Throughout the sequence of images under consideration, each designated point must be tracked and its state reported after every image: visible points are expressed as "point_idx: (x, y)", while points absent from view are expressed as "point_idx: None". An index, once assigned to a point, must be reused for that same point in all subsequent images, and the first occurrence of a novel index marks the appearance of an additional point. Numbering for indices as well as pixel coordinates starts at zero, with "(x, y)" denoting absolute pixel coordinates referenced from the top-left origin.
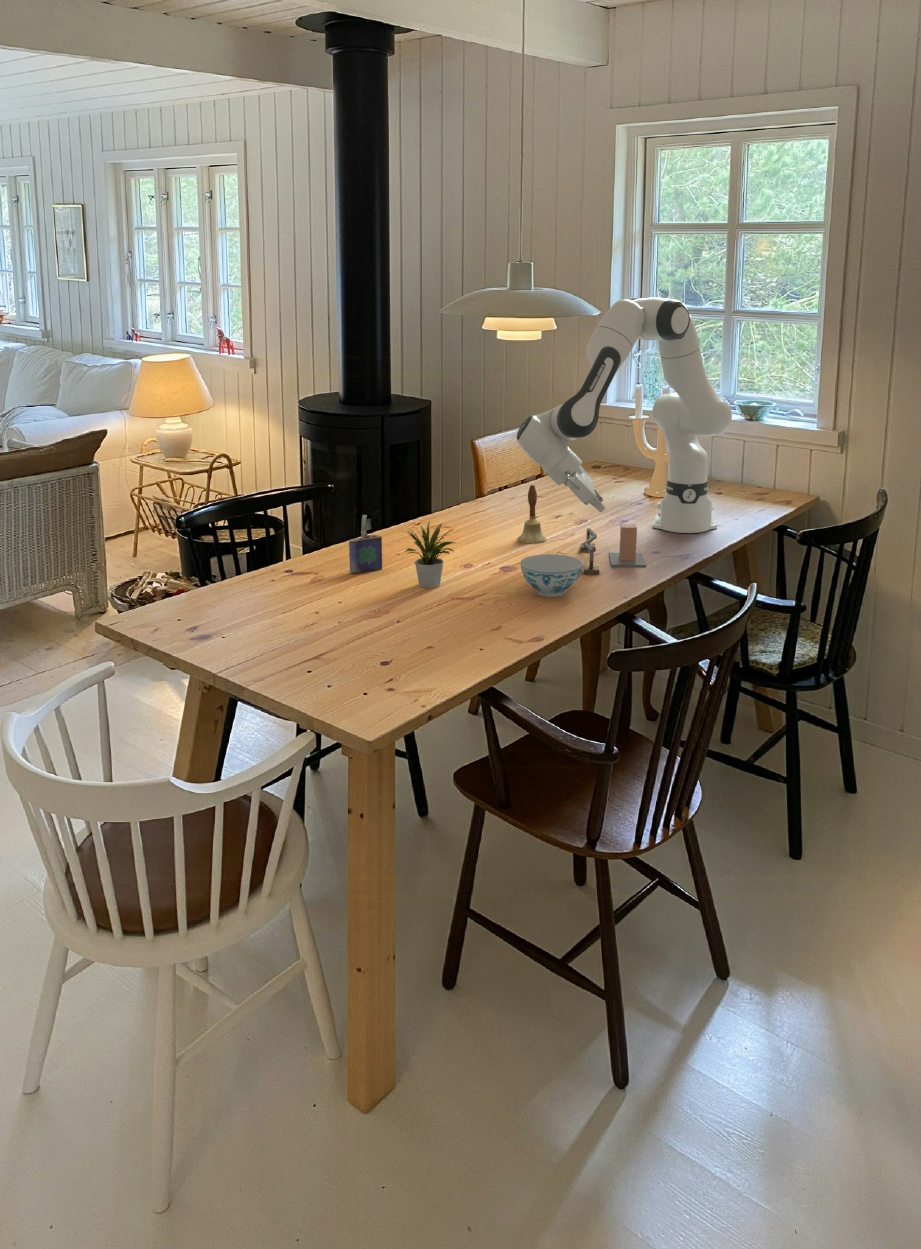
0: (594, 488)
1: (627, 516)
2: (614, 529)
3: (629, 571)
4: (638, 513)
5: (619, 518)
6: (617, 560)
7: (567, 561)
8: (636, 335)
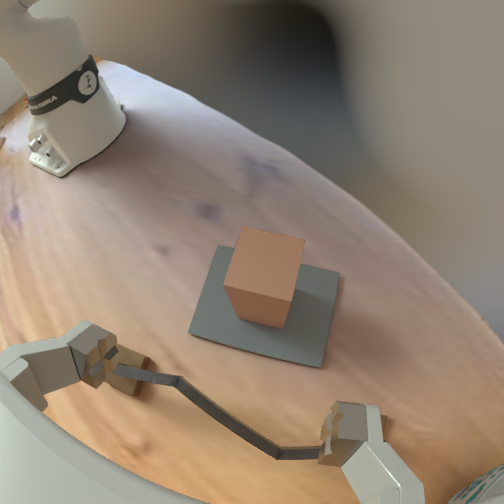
0: (14, 355)
1: (5, 201)
2: (31, 241)
3: (368, 328)
4: (7, 184)
5: (3, 215)
6: (279, 337)
7: (471, 501)
8: None
